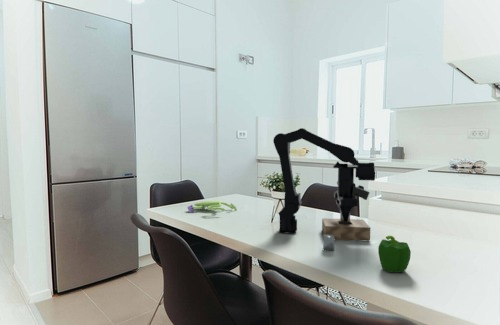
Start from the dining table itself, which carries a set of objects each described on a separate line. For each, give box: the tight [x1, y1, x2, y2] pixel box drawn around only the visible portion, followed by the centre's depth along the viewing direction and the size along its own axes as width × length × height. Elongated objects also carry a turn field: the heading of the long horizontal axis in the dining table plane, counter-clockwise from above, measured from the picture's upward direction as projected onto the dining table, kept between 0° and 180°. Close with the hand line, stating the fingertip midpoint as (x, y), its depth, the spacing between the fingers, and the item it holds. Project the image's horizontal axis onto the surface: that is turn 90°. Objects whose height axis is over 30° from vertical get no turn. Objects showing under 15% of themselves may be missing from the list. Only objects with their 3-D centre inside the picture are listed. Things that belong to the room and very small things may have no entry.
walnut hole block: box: [321, 218, 371, 241], centre depth 122 cm, size 16×12×5 cm
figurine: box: [187, 200, 238, 214], centre depth 165 cm, size 18×27×6 cm
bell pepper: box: [377, 235, 412, 273], centre depth 89 cm, size 8×8×10 cm
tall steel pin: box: [339, 210, 351, 225], centre depth 122 cm, size 4×4×8 cm
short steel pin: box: [322, 234, 335, 252], centre depth 106 cm, size 4×4×4 cm
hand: (344, 220), depth 122 cm, fingers closed on tall steel pin, 3 cm apart
